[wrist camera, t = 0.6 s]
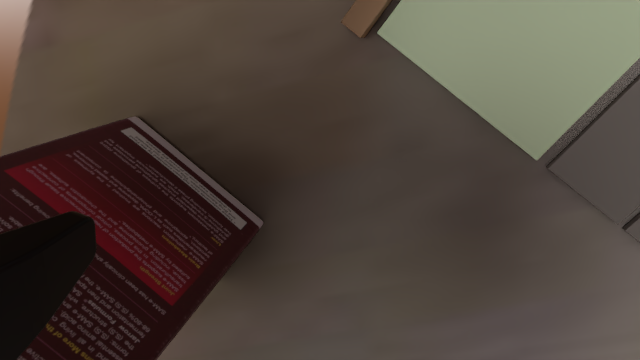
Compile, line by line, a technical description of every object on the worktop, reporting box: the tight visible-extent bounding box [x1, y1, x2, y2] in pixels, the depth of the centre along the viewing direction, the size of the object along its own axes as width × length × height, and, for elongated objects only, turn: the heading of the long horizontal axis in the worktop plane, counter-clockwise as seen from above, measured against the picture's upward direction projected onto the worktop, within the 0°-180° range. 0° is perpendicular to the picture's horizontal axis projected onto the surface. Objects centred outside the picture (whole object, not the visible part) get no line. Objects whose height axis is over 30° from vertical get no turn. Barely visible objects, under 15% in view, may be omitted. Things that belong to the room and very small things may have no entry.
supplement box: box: [0, 116, 263, 360], centre depth 17 cm, size 9×5×16 cm, turn 51°
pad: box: [377, 0, 640, 161], centre depth 19 cm, size 9×8×1 cm
